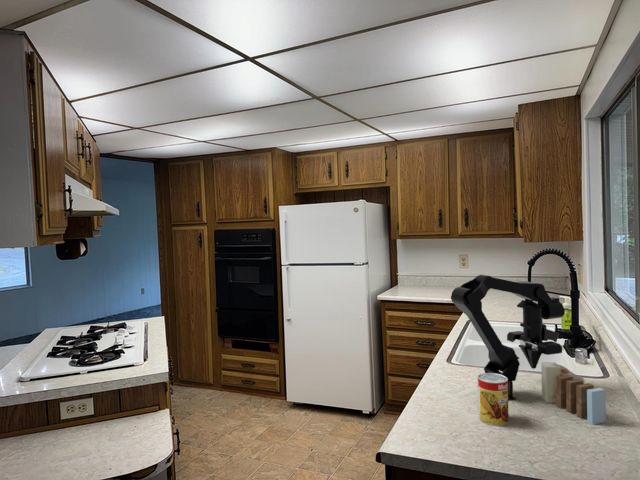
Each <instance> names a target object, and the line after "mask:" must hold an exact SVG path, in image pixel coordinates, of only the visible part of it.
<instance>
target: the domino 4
mask: <svg viewBox="0 0 640 480" xmlns="http://www.w3.org/2000/svg"><path fill="white" fill-rule="evenodd" d="M586 420H587V421H586V422H587V423H589V424H590V425H598V424H602V423H603V424H604V423H606V389H604V388H602V387H597V388H595V387H594V389H589V390H587V418H586Z"/></svg>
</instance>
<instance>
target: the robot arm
mask: <svg viewBox="0 0 640 480" xmlns="http://www.w3.org/2000/svg"><path fill="white" fill-rule="evenodd" d="M490 289H492V290H498V291H501V292H507V293H511V294H513V295H515V296H516V297H519V298H521V299H522V300H521V301H520V302H519V303H517V304H516V308H521V309H522V322H520V323H519V327H521V328H523V329H522V331H521V330H517V331H509V332H508V333H507V334H506V340H507V341H509V342H511V343H514V342H515V341H516V340H518V341H520V344H518V348H520V350H521V351H522V353H523V355H524V356H525V358H526V360H527V362H528V364H529V366H530V368H531V369H533V370H534V369H536V368H537V366H538V363H539V361H540V358H541V356H542V355H546V356H548V355H557V354H563V346H562V345H561V343H558V342H557V341H558V338H559V335H560V333H559V332H557V331H554V330H550V329H548V328H547V325H546V324H545V323H543V320H554V319H561V318H563V317H564V316H565V314H566V309H565V307H564V305H563V304H562V302H560V298H559V297H554V296H553V297H551V296H550V295H549V293H548V292H547V291H546V288H545V285H544V284H543V283H538V282H533V281H532V282H531V281H512V280H507V279H502V278H497V277H494V276H490V275H486V274H479V275H477V276H475V277H474V278H473V279H471V280H469V281H467V282H465V283H463V284H461V285H460V286H457V287H454V289H453V290H452V292H451V295H450V300H451V302H452V303H453V304H454V305H455V306H456V308H457V309H458V310H459V311H461V312H462V313H464V315H466V317H467V318H468V319H469V321H470V322H471V325H472V326H473V328H474V330H475V331H476V332H477V334H478V336H479V337H480V339H481V341H482V342H483V344H484V345H485V347H486V348H487V350H488V357H487V358H488V359H489V361H488V362H487V363H486V365H485V366H484V367H483V371H484V373H496V374H501V375H503V376H505V377H507V379H508V401H509V400H515V399H516V396H515V395H514V382H515V381H516V379H517V376H518V372H519V368H520V366H521V363H520V361H519V359H520V357H518V355H517V354H516V351H515V349H514V348H513V347H510V346H508V345H504V344H503V343H502V341H501V340H500V338H499V336H498V335H497V333H496V332H495V330H494V328H493V326H492V324H491V323H490V322H489V319H488V318H487V316H486V315H485V313H484V312H483V310H482V309H483V302H482V300H483V299H484V298H485V297H487V296H486V295H487V294H488V291H489V290H490ZM527 300H529V301H527Z"/></svg>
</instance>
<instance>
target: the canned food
mask: <svg viewBox="0 0 640 480" xmlns="http://www.w3.org/2000/svg"><path fill="white" fill-rule="evenodd" d="M477 394H478V395H477V398H478V399H477V400H478V405H477V406H478V419H479V421H480V422H481V423H484V424H486V425H489V426H495V427H499V426H506V425H507V424H508V423H509V421H510V420H509V417H510V416H509V415H510V414H509V400H508V379H507V377H505V376H503V375H501V374H496V373H485V372H483V373H480V374H478V375H477Z"/></svg>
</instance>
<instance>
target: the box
mask: <svg viewBox="0 0 640 480" xmlns="http://www.w3.org/2000/svg"><path fill="white" fill-rule="evenodd" d="M559 365H560V364H558V363H556V362H552V361H551V362H550V361H548V362H547V361H545V362H544V361H541V363H540V367H541V368H540V369H541V371H540V373H541V396H542V398H543V399H544V401H545V402H546V403H551V404H552V403H554V404H555V403H556V404H557V378H556V377H559V376H561V367H560V366H559Z"/></svg>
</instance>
